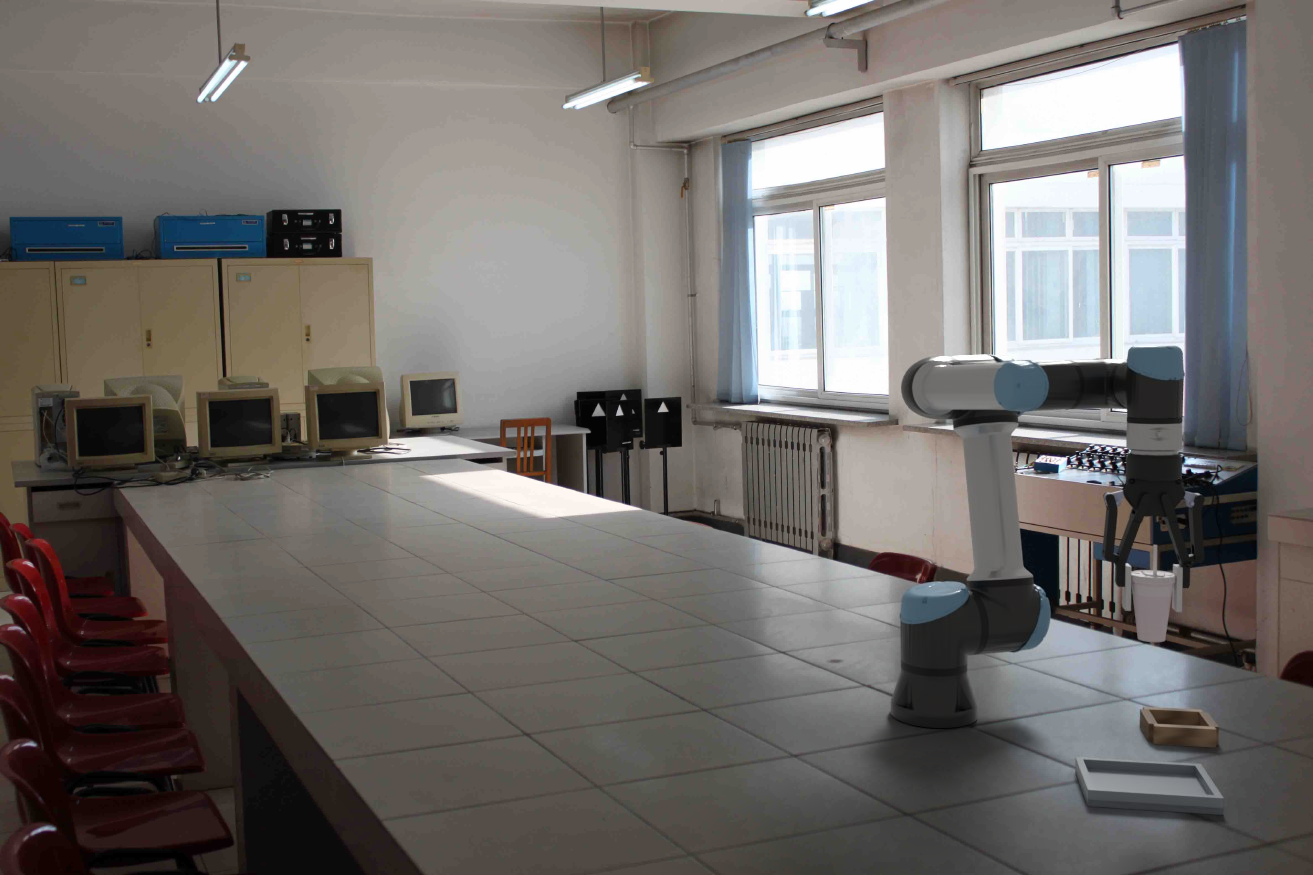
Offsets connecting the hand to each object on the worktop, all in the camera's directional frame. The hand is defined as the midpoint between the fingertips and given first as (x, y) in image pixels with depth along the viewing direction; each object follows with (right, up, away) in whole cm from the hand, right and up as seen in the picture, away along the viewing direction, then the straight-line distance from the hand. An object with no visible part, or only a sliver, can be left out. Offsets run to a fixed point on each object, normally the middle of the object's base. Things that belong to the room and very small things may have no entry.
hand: (1151, 609), depth 175 cm
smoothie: (0, -5, 0) cm, 5 cm away
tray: (0, -27, +1) cm, 27 cm away
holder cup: (+15, -25, +26) cm, 39 cm away
